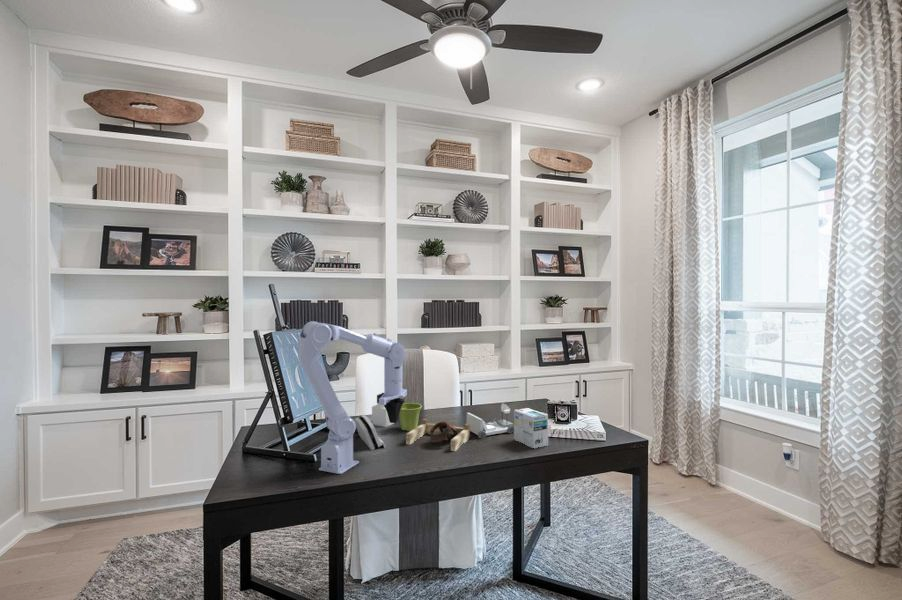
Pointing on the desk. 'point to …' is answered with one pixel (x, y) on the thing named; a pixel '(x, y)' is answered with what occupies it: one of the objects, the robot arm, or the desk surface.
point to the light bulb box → (531, 427)
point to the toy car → (490, 424)
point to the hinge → (368, 432)
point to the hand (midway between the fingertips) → (393, 422)
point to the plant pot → (409, 416)
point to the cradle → (426, 427)
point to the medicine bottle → (380, 414)
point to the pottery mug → (442, 432)
